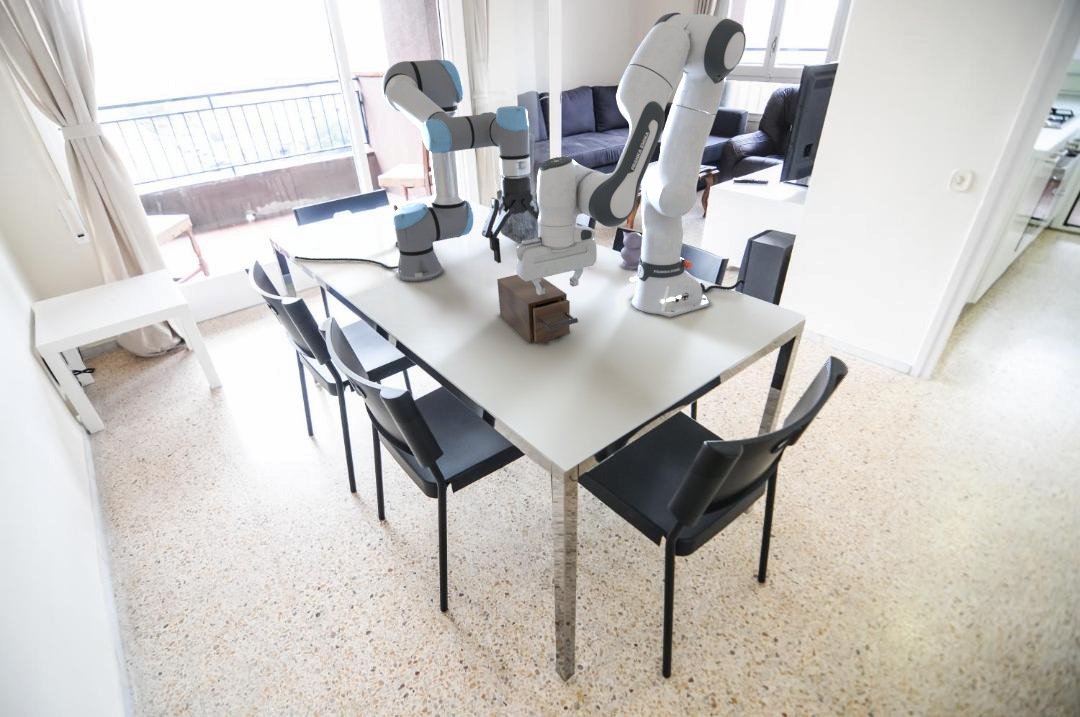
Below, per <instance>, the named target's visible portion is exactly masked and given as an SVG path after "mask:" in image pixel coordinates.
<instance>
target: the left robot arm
mask: <svg viewBox="0 0 1080 717" xmlns="http://www.w3.org/2000/svg"><path fill="white" fill-rule="evenodd" d="M381 92H382V96H383V98H384V100H385V101H386V103H387V104H388V105H389V106H390V107H391V108H392V109H393V110H395V111H397V112H399V113H403V115H405V116H406V117H407V118H408V119H409V120H410V121H411V122H412V123H413V124H415V126H417V128H418V129H419V130H420V131H421V138H422V142H423V145H424V146H425V148H426V150H427V151H428V152H429V157H430V166H431V175H432V184H433V191H434V194H433V196H432V197H431V199H430V202H431V206H428V205H427V204H426V203H424V202H423V203H422V202H417V203H410V204H406V205H403V206H401V207H398V209H397V210H396V211H395V210H394V213H393V215H392V219H393V228H394V230H395V231H394V232H395V236H396V242H398V246H397V247H398V251H399V259H398V265H395V266H391V265H386V264H385V263H382V262H381V261H376V260H373V259H366V258H356V257H355V258H354V257H353V258H351V257H350V258H349V257H337V258H336V257H335V258H334V257H333V258H332V257H331V258H329V257H326V258H324V257H320V258H319V257H316V258H315V257H304V256H298V255H295V256H294V259H298V260H305V261H318V262H319V261H323V262H324V261H330V262H331V261H334V262H335V261H354V262H355V261H356V262H366V263H373V264H377V265H380V266H382V267H384V268H385V269H389V270H393V269H394V270H396V269H397V276H398V278H399V279H400V280H402V281H406V282H413V283H414V282H425V281H429V280H432V279H435V278H438V277H439V276H440V275H441V274H442V273H443V268H442V264H441V263H440V260H439V259H438V256H437V254H436V252H435V250H434V243H435V242H440V241H444V240H445V241H446V240H449V239H455V238H460V237H463V236H466V235H469V234H470V232H471V231H472V229H473V226H474V211H473V208H472V205H471V203H470V202H469V201H468V200H466V197H465V196H464V195H463V194H462V193H461V185H460V175H459V167H458V166H459V163H458V154H457V151H463V150H472V149H481V148H489V147H497V148H498V154H499V155H498V157H499V170H500V171H499V172H500V173H499V174H500V175H501V178H500V184H501V189H502V198H501V199H497V198H495V197H492V198H490V208H489V211H488V214H487V216H486V220H485V222H484V225H483V228H482V231H481V235H482V236H483V237H484V238H486V239H488V240H489V248H490V250H491V251H492V252H493V261H495V263H497V264H501V263H502V257H501V244H500V238H498V235H499V234H500V233H501V229H502V227H503V226H504V224H505V222H506V221H507V219H508V218H509V217H510V216H511V214H518V213H525V211H527V212H528V213H529V214H530V215H531V216H532V217H533V218H534V219H535V221H536V222H537V223H538V216H539V215H538V214H537V212H536V211H535V210H534V209H533V207H532V206H531V205H530V203H531V201H532V199H534V200H535V201H536V204H537V190H534V191H533V192H534V193H532V194H531V191H532V177H531V176H530V174H531V157H530V156H531V155H530V154H531V153H530V123H529V118H528V117H529V116H528V114H529V113H528V110H527V108H526V107H525V106H521V105H519V106H518V105H509V106H500V107H498V108H497V109H496V112H493V111H491V112H482V113H480V114H473V115H460V116H455V115H456V113H457V112H458V104H460V103H461V102H462V101H463V98H464V97H463V96H464V86H463V82H462V78H461V74H460V72H459V71H458V69H457V67H456V65H455V64H454V63H453V62H451V61H450V60H447V59H428V60H427V59H426V60H410V61H409V60H405V61H404V60H403V61H399V62H396V63H394V64H393V65H391V66H389V68H388V69H386V71H385V73H384V75H383V76H382V80H381ZM501 204H503V205H504V207H503V209H502V211H501V214H500V216H499V207H500V206H501ZM537 206H538V204H537ZM497 217H498V218H497Z"/></svg>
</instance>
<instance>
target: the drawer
mask: <svg viewBox="0 0 1080 717" xmlns="http://www.w3.org/2000/svg"><path fill="white" fill-rule="evenodd" d="M570 303H571V301H570V300H569V299H567V300H564V301H561V299H558V300H554V301H550V302H546V303H543V304H539V305H535V306H531V307H532V326H533V336H534V342H533V343H535V344H538V343H543V342H545V341H548V340H552V339H556V338H559V337H562V336H566V335H569V334H570V333H571V325H573V324H577V323H579V319H578V318H577V317H574V316H572V315H571V313H570V312H571V309H570V307H571V306H570Z"/></svg>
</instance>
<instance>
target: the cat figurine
mask: <svg viewBox="0 0 1080 717" xmlns="http://www.w3.org/2000/svg"><path fill="white" fill-rule="evenodd" d="M622 232H623V234H622V235H623V241H622V243H623V246H624V247H622V249H621V251H620V256H621V258H622V260H623V261H622V266H621V267H622V268H623V269H626V270H630V271H631V270H638V265H639V257H640V256H641V246H642V234H640V233H639V232H634V231H633V232H626V231H622Z"/></svg>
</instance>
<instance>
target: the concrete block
mask: <svg viewBox="0 0 1080 717" xmlns="http://www.w3.org/2000/svg"><path fill="white" fill-rule="evenodd" d="M534 192H535V191H533V190H531V194H532V193H534ZM496 197H497V198H496V199H501V198H502V188H501V189H499V190H497V191H496ZM530 205H531V206H532V207H533V209H534V210H535V211H536V212H537V214H538V215H539V207H538V206H537V204H536V201H535V200H534V199H532V201H531V203H530ZM503 207H504V205H503V204H501V206H500V207H499V210H498V217H499V216H500V214H501V211H502V209H503ZM500 233H501V235H503V236H504V237H506V238H508V239H510V240H511V241H513V242H515V243H517V244H518V245H519V244H520V243H522V241H524V240H530V239H533V238H538V223H537V222H536V221H535V219H534V218H533V217H532V216H531V215H530V214H529V213H528V212H527V211H525V213H518V214H511V216H510V217H509V218H508V219H507V221H506V222H505V224H504V226H503V227H502V229H501V231H500Z"/></svg>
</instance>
